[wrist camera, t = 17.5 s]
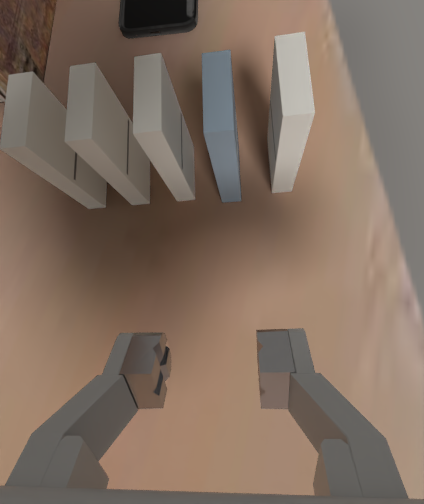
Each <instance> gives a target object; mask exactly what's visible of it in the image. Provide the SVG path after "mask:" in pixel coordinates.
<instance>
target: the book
mask: <svg viewBox="0 0 424 504" xmlns="http://www.w3.org/2000/svg"><path fill="white" fill-rule="evenodd" d="M56 2H57V0H0V102H5V100H6V92H7V84H8V76H9V75H11V74H18V73H25V72H32V71H33V72H34V73H35V74H36V75H37V77H38V78H39V79H40V80H41V81H42V82H43V79H44V73H45V67H46V61H47V55H48V49H49V43H50V37H51V31H52V25H53V20H54V14H55V8H56Z"/></svg>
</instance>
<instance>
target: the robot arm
mask: <svg viewBox="0 0 424 504" xmlns="http://www.w3.org/2000/svg"><path fill="white" fill-rule="evenodd" d="M256 336H257V360H258V375H259V390H260V402H261V408H263V409H289V412H290V414H291V415H292V416H293V418H294V419H295V421H296V422H297V423H298V425H299V426H300V428H301V429H302V431H303V432H304V433H305V435H306V436H307V438H308V439H309V441H310V442H311V443H312V445H313V446H314V448H315V449H316V451H317V452H318V453H319V456H318V461H317V466H316V471H315V477H314V482H313V487H314V493H315V496H313V495H282V494H251V493H219V492H188V491H157V490H126V489H106V488H107V485H108V481H109V478H108V476H107V474H106V472H105V471H104V469H103V468H102V466H101V465H100V463H99V462H98V461H99V460H100V459H101V457H102V456H103V455H104V454H105V452H106V451H107V450H108V448H109V447H110V446H111V445H112V443H113V442H114V441H115V439H116V438H117V437H118V436H119V434H120V433H121V432H122V430H123V429H124V428H125V427H126V425H127V424H128V423H129V421H130V420H131V419H132V418H133V416H134V415H135V414H136V412H137V411H138V409H153V408H163V407H164V402H165V397H166V392H167V387H166V383H165V381H166V380H167V379H168V378H169V377H170V371H171V353H170V349H169V348H168V347H167V346H166V342H167V338H166V335H165V333H120V334H119V335H118V337H117V339H116V341H115V344H114V346H113V348H112V351H111V353H110V356H109V358H108V361H107V363H106V366H105V368H104V371H103V373H102V375H97V376H96V377H95V378H94V379H93V380H92V381H90V382H89V383H88V384H87V385H86V386H85V387H84V388H83V389H81V390H80V391H79V392H78V393H77V394H76V395H75V396H74V397H72V398H71V399H70V400H69V401H68V402H67V403H66V404H65V405H63V406H62V407H61V408H60V409H59V410H58V411H57V412H56V413H54V414H53V415H52V416H51V417H50V418H49V419H48V420H47V421H46V422H44V423H43V424H42V425H41V426H40V427H39V428H38V429H37V430H35V431H34V432H33V433H32V434H31V436H30V438H29V440H28V442H27V444H26V446H25V448H24V450H23V452H22V454H21V455H20V457H19V459H18V461H17V463H16V465H15V467H14V469H13V471H12V473H11V475H10V477H9V478H8V480H7V482H6V484H5V486H0V504H424V499H409V498H408V496H407V493H406V490H405V488H404V485H403V483H402V480H401V477H400V475H399V472H398V469H397V467H396V464H395V461H394V459H393V456H392V454H391V451H390V448H389V446H388V443H387V440H386V438H385V437H384V436H383V435H382V434H381V433H380V432H379V431H378V430H377V429H376V428H375V427H374V426H373V425H372V424H371V423H370V422H369V421H368V420H367V419H366V418H365V417H364V416H363V415H362V414H361V413H360V412H359V411H358V410H357V409H356V408H355V407H354V406H353V405H352V404H351V403H350V402H349V401H348V400H347V399H346V398H345V397H344V396H343V395H342V394H341V393H340V392H339V391H338V390H337V389H336V388H335V387H334V386H333V385H332V384H331V383H330V382H329V381H328V380H327V379H326V378H325V377H324V376H323V375H322V374H321V373H315V370H314V366H313V362H312V358H311V354H310V350H309V346H308V342H307V338H306V334H305V330H304V329H303V328H302V329H266V330H256Z"/></svg>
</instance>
